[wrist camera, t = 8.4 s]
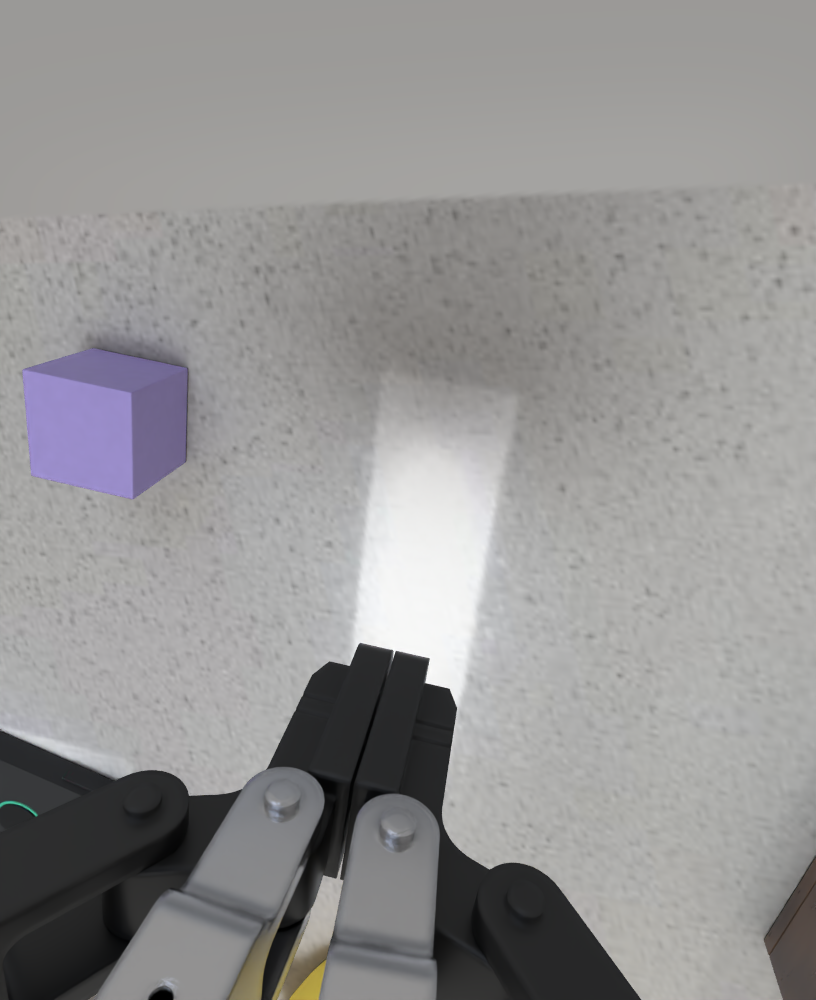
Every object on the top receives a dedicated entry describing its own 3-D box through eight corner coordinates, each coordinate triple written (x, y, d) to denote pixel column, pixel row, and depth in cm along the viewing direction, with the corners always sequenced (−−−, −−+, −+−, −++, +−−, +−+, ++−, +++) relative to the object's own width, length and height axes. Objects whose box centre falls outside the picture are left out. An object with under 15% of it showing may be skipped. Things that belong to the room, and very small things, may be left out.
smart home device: (-139, 700, 36) (196, 847, 36) (-111, 680, 38) (210, 821, 38) (-140, 797, 40) (165, 931, 40) (-114, 774, 41) (179, 903, 41)
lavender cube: (93, 347, 27) (21, 368, 24) (188, 367, 27) (131, 393, 23) (96, 442, 29) (30, 476, 25) (185, 462, 29) (133, 500, 25)
